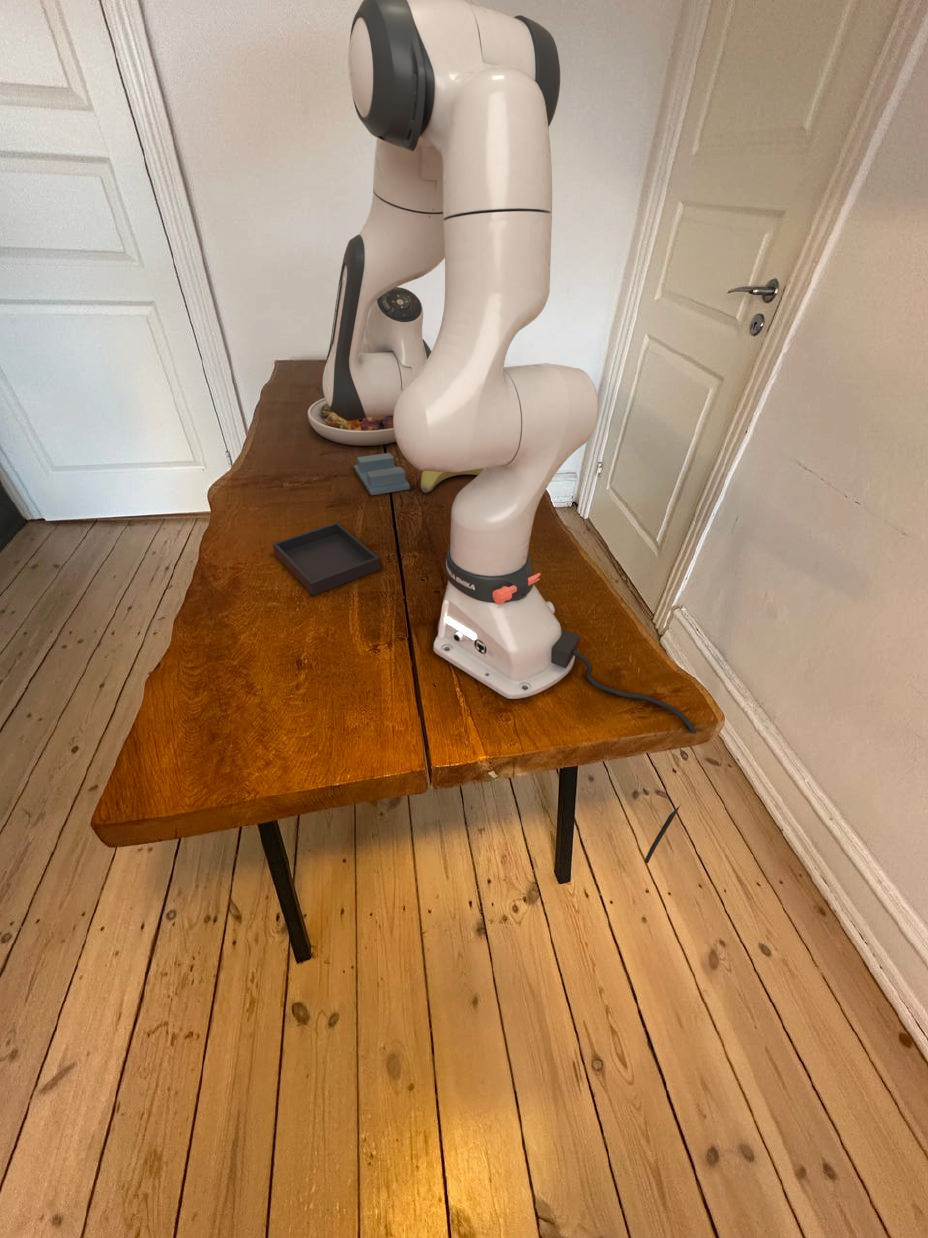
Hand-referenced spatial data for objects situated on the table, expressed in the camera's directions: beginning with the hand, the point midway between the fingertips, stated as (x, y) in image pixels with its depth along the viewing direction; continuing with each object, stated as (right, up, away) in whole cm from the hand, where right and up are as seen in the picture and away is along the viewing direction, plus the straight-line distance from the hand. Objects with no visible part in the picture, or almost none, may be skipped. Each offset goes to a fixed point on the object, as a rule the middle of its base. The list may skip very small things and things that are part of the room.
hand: (371, 398), depth 112 cm
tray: (-6, -35, -12) cm, 37 cm away
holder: (0, -13, +14) cm, 19 cm away
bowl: (-8, +7, +37) cm, 38 cm away
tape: (0, 0, -1) cm, 1 cm away
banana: (+19, -14, +15) cm, 28 cm away
